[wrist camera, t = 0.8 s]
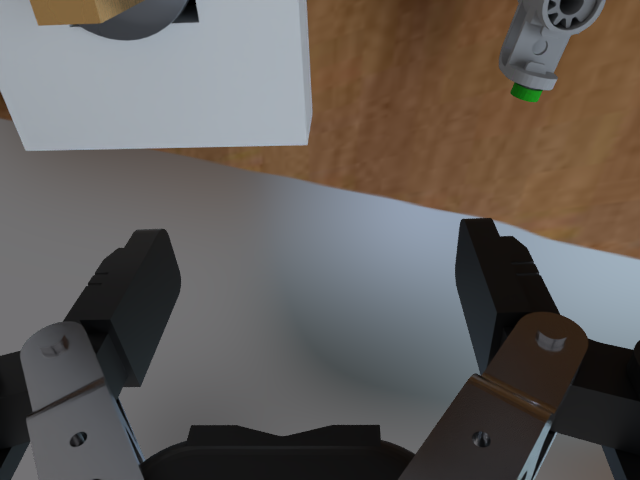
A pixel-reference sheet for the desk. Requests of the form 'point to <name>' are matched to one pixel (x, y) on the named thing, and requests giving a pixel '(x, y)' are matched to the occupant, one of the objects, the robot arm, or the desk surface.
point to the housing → (161, 79)
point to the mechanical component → (542, 41)
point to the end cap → (110, 16)
